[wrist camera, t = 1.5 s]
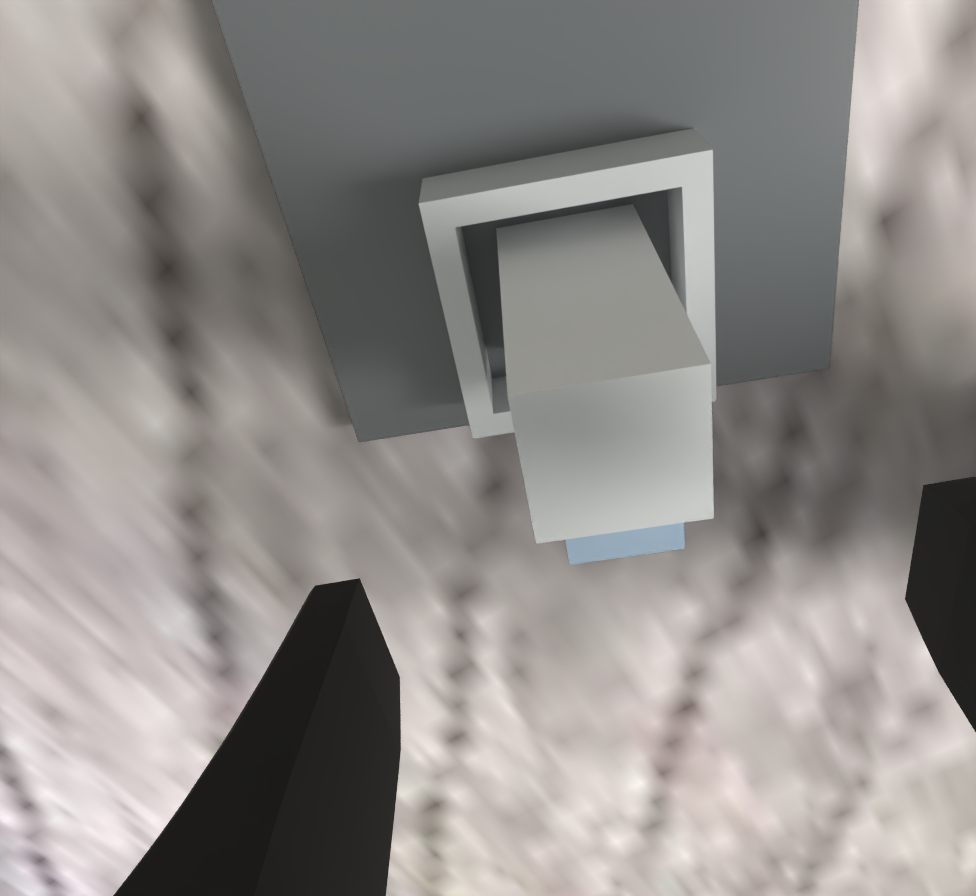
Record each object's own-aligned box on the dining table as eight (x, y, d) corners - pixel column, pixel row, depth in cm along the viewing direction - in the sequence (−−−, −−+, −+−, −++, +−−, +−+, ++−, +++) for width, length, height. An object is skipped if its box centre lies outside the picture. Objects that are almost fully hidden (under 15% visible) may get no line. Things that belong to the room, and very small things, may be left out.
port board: (904, -882, 10) (1006, -1061, 8) (818, 352, 20) (854, 402, 19) (21, -625, 11) (-74, -729, 9) (362, 425, 22) (350, 480, 20)
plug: (633, 204, 17) (711, 363, 12) (643, 348, 19) (714, 545, 14) (496, 228, 18) (507, 395, 12) (520, 368, 20) (540, 568, 14)
